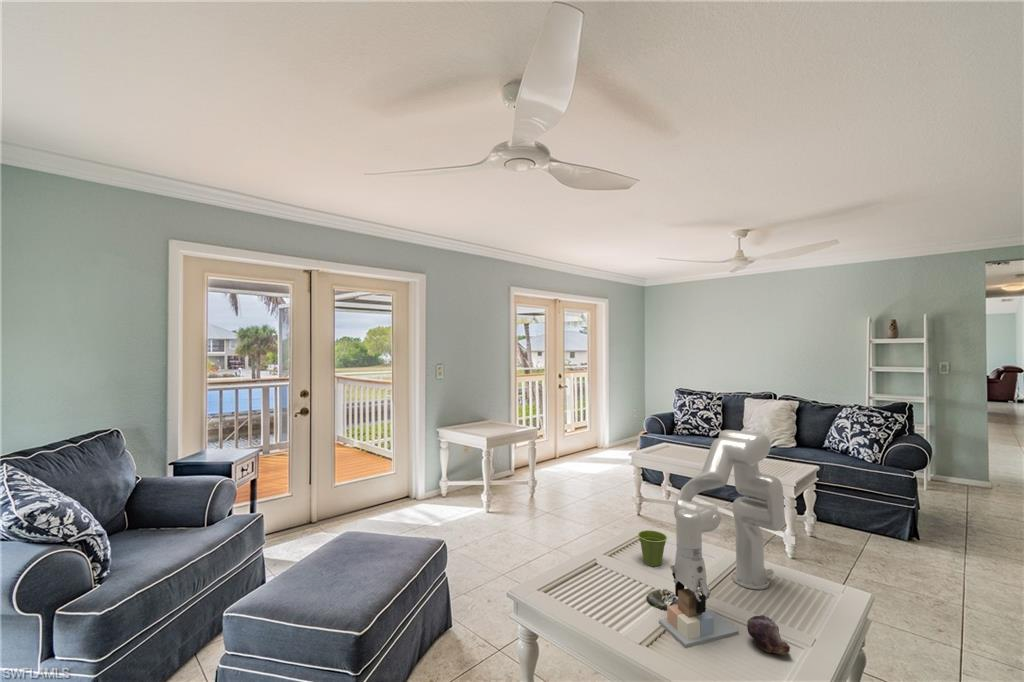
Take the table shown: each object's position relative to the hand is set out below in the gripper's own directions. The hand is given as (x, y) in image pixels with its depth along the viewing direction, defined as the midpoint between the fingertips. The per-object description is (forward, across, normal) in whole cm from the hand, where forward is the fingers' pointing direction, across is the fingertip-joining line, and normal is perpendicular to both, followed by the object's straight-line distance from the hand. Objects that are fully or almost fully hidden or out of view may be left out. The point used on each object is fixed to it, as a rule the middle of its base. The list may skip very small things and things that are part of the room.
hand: (690, 603), depth 146 cm
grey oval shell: (+9, +17, -2) cm, 19 cm away
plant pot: (+9, +42, -16) cm, 46 cm away
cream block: (+7, -3, +3) cm, 8 cm away
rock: (+9, -14, -16) cm, 23 cm away
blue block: (+7, -3, -2) cm, 8 cm away
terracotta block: (+7, +2, +3) cm, 8 cm away
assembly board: (+8, 0, -3) cm, 9 cm away
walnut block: (+2, 0, 0) cm, 2 cm away
